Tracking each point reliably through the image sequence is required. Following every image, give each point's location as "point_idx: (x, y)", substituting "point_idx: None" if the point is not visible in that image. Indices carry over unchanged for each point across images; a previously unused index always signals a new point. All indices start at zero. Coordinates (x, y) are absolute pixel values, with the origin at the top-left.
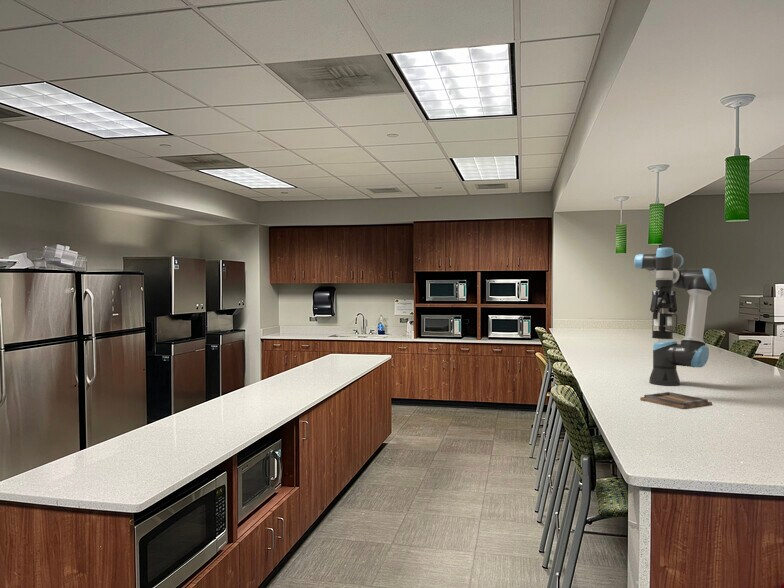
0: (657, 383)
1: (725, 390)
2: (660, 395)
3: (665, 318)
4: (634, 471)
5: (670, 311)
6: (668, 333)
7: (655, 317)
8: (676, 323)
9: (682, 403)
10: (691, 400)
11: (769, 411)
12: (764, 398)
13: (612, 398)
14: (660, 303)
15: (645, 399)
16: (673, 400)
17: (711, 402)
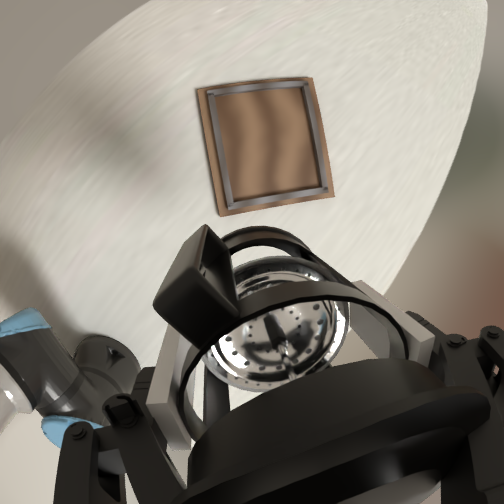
0: (135, 359)
1: (26, 248)
2: (269, 195)
3: (207, 408)
4: (485, 3)
5: (162, 443)
6: (273, 236)
7: (421, 319)
8: (203, 241)
9: (307, 82)
10: (233, 120)
11: (137, 19)
12: (21, 141)
13: (375, 234)
14: (484, 427)
15: (331, 180)
16: (309, 109)
17: (199, 89)
